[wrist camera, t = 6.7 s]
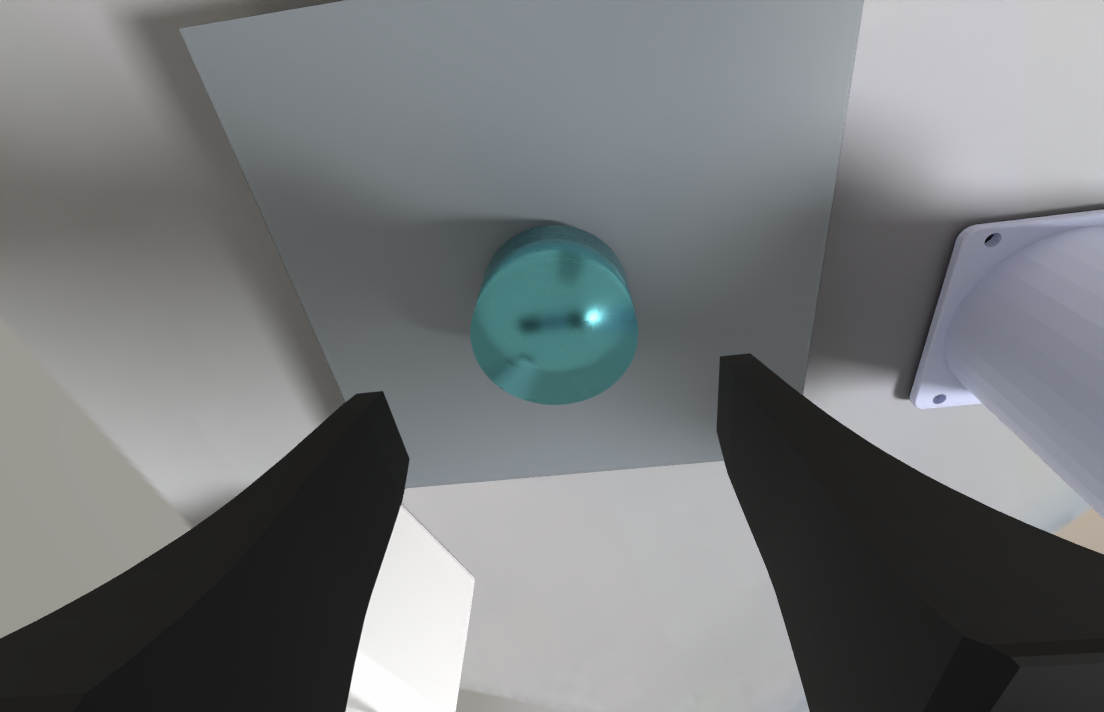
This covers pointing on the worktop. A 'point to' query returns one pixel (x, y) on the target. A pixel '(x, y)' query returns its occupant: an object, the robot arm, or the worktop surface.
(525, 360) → the plunger
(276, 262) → the worktop surface
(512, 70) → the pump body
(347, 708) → the container
